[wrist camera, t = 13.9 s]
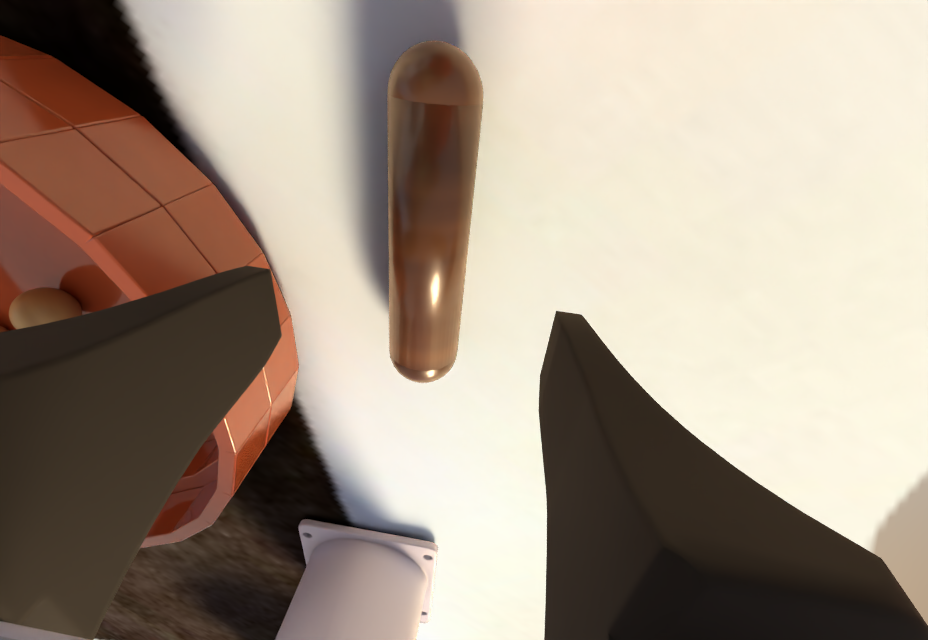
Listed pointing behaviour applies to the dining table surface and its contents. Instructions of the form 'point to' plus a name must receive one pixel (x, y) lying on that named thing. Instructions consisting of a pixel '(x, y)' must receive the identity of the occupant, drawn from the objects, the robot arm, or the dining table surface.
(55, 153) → the bowl
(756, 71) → the dining table surface
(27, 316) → the bead
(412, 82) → the stick
